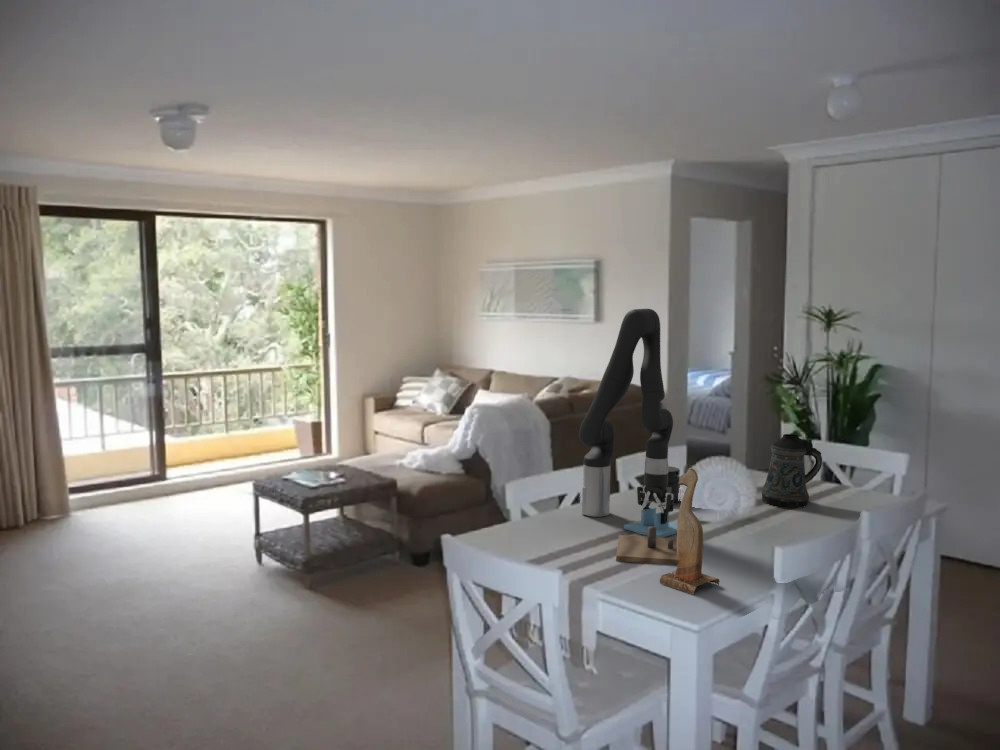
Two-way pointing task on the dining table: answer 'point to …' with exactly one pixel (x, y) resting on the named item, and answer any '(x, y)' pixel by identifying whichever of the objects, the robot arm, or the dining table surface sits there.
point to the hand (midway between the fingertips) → (654, 521)
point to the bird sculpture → (688, 543)
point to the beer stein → (789, 472)
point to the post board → (647, 549)
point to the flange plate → (652, 524)
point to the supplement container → (673, 482)
